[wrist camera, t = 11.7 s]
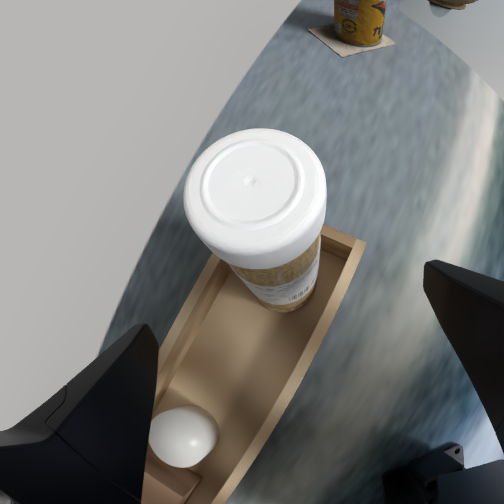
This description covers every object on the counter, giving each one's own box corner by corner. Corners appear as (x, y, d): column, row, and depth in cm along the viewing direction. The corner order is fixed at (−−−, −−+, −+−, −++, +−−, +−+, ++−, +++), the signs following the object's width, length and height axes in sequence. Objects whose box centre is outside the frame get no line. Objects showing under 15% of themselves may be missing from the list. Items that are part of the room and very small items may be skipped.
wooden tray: (196, 537, 17) (181, 557, 13) (112, 481, 19) (88, 492, 16) (358, 259, 22) (366, 242, 19) (255, 214, 25) (246, 192, 21)
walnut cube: (181, 509, 17) (159, 530, 14) (139, 481, 18) (112, 497, 15) (203, 477, 18) (182, 497, 14) (158, 448, 19) (131, 461, 16)
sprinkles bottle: (295, 239, 23) (276, 103, 10) (329, 292, 21) (359, 199, 8) (240, 271, 23) (159, 167, 10) (272, 327, 21) (217, 283, 8)
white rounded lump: (224, 453, 19) (212, 466, 16) (173, 456, 19) (155, 467, 16) (213, 401, 20) (198, 408, 17) (162, 407, 20) (142, 412, 18)
